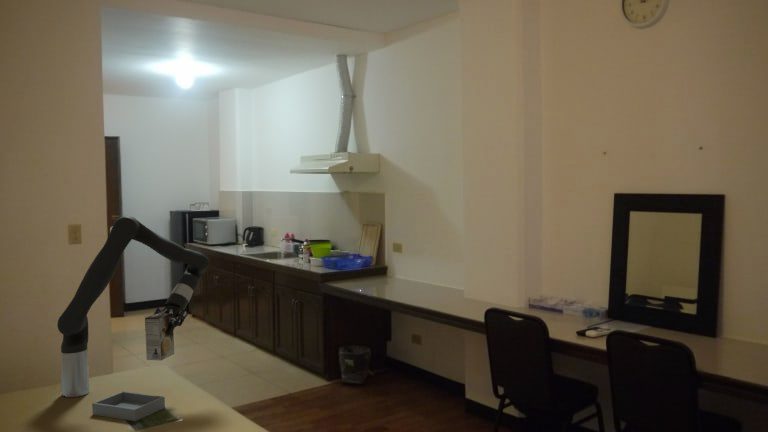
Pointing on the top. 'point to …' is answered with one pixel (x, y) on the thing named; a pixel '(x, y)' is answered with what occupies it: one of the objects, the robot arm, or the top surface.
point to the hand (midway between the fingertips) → (159, 333)
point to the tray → (128, 405)
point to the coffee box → (158, 337)
